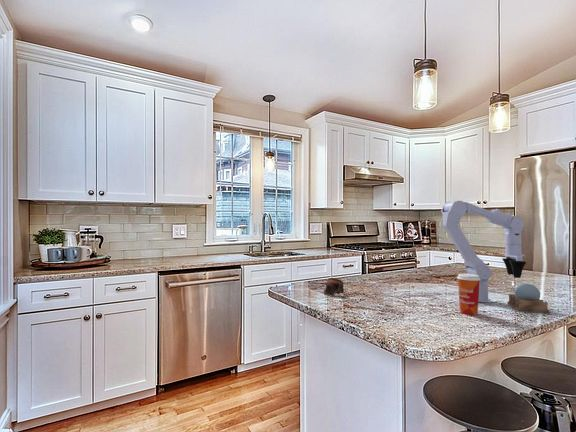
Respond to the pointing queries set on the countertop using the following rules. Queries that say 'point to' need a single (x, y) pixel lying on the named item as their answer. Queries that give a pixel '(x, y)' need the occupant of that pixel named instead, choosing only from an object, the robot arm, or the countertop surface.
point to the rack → (528, 304)
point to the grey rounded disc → (527, 291)
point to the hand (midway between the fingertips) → (514, 276)
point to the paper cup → (468, 293)
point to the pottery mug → (333, 286)
